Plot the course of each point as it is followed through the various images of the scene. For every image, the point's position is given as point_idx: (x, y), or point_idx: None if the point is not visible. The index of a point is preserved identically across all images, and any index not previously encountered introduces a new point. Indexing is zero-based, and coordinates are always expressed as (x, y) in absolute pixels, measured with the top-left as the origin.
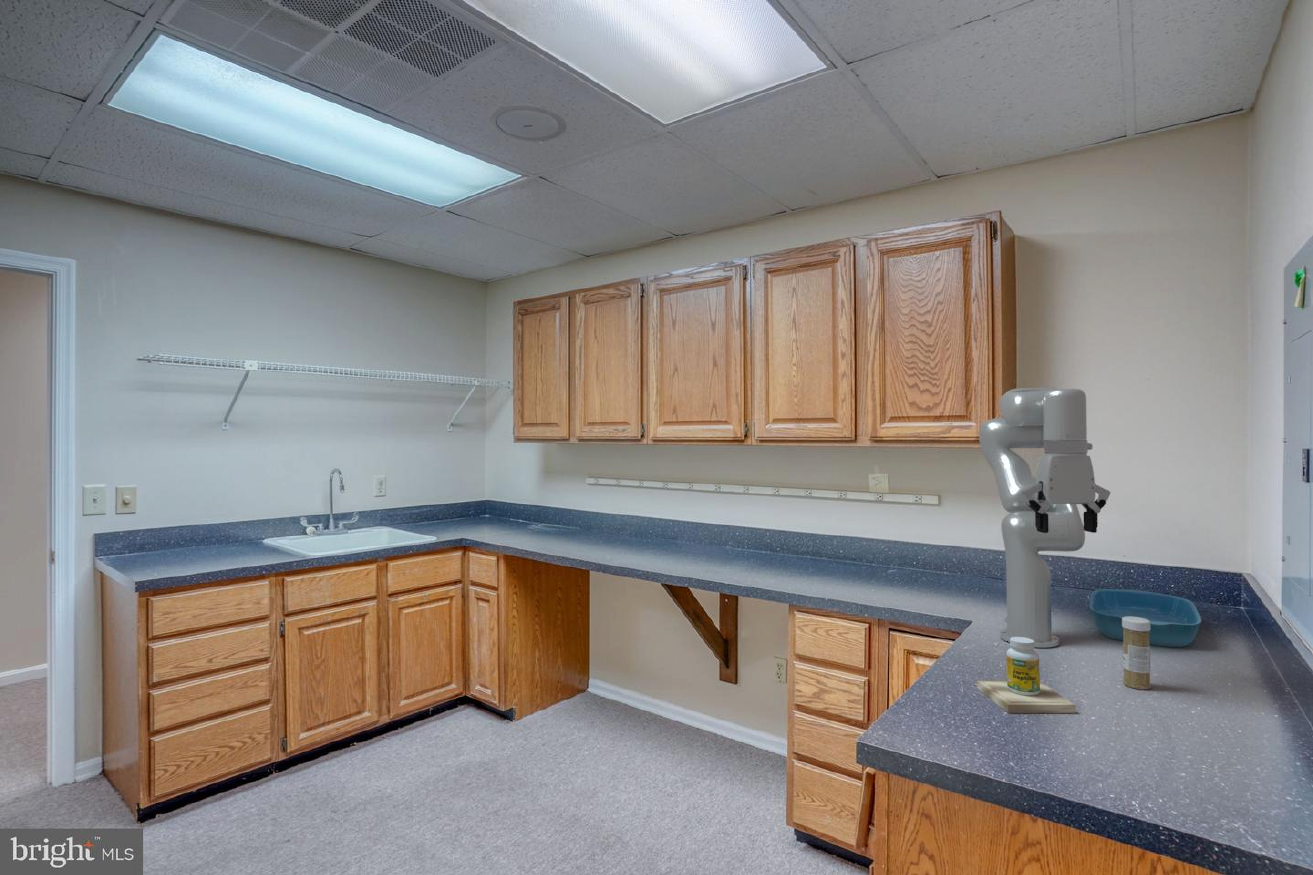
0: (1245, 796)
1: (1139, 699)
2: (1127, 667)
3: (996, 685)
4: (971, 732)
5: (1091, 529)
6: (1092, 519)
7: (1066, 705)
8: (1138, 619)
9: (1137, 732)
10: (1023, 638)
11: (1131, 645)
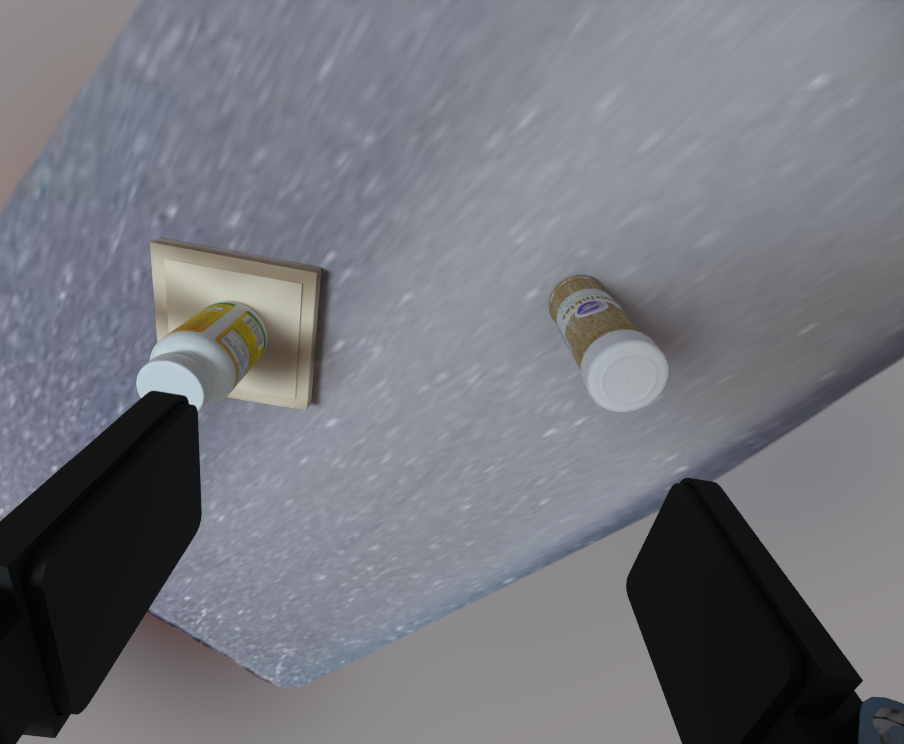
0: (351, 620)
1: (504, 367)
2: (557, 319)
3: (184, 290)
4: (61, 435)
5: (637, 591)
6: (673, 708)
7: (288, 406)
8: (630, 385)
9: (364, 480)
10: (181, 380)
11: (572, 356)
